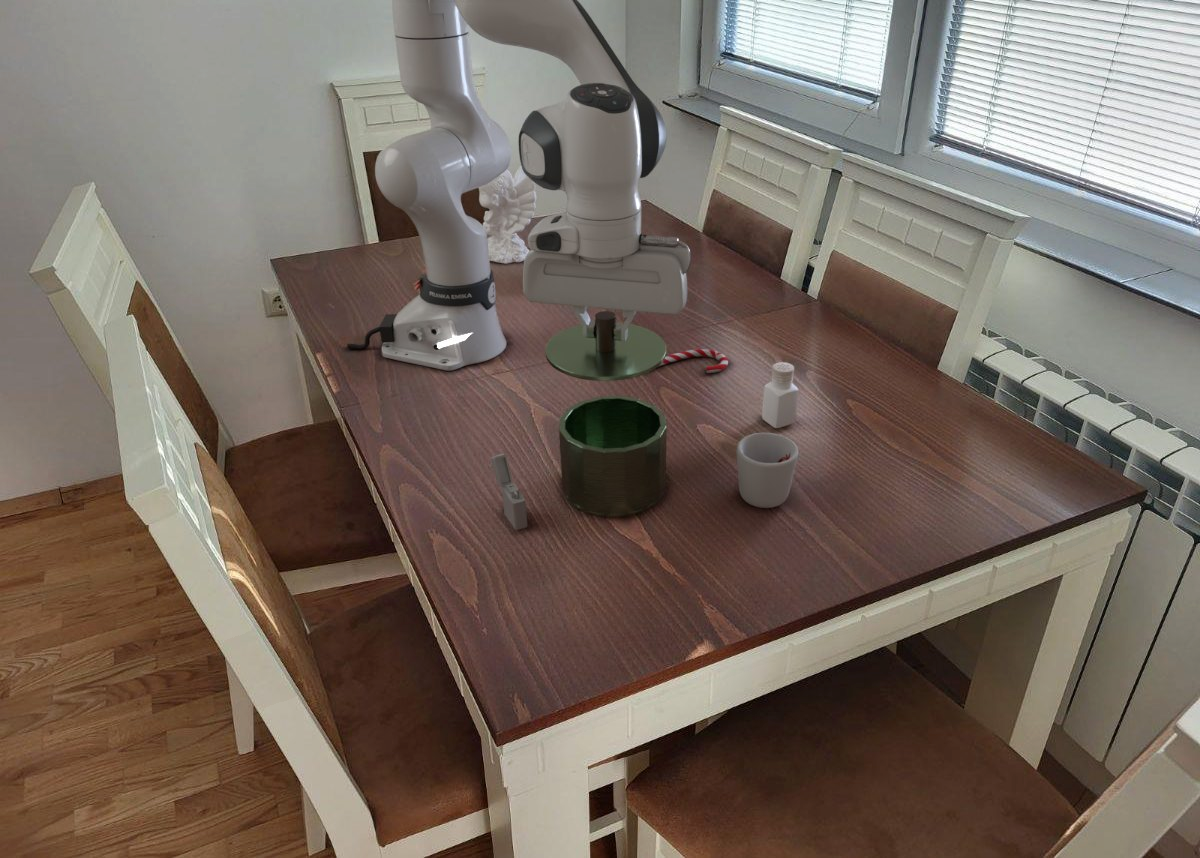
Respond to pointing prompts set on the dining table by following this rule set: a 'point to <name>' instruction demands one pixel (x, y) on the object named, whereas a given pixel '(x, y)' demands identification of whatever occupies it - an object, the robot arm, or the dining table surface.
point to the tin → (613, 455)
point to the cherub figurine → (507, 214)
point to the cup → (765, 468)
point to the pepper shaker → (780, 397)
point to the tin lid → (605, 351)
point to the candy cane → (699, 354)
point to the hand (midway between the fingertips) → (605, 337)
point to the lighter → (510, 493)
